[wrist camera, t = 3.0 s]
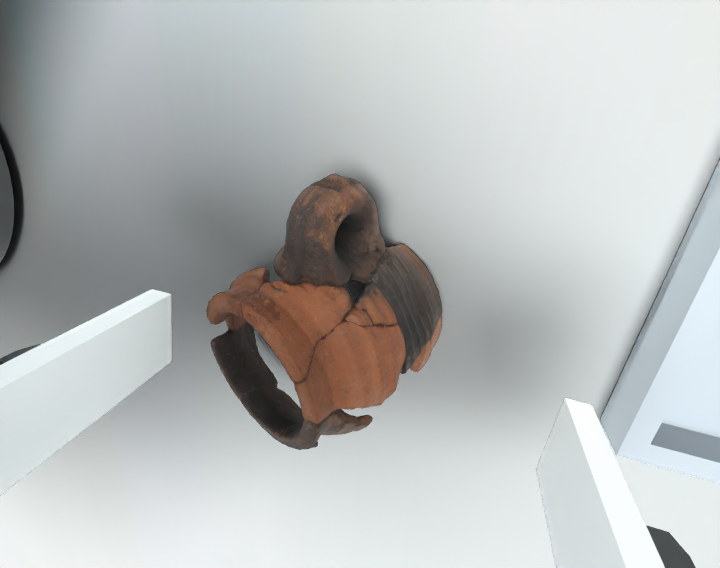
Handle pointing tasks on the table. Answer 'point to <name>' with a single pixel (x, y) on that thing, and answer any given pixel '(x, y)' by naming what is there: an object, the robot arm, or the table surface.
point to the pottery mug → (327, 318)
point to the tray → (677, 361)
